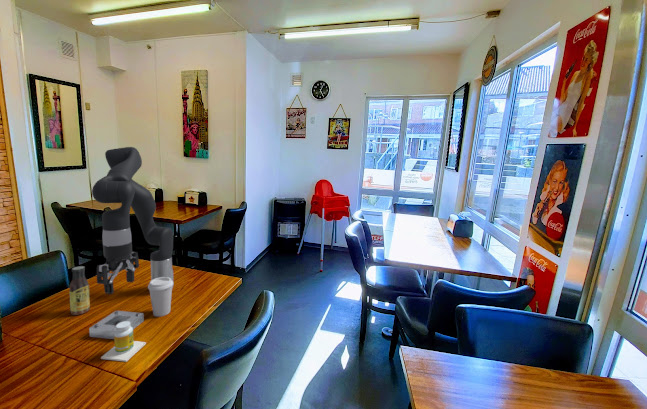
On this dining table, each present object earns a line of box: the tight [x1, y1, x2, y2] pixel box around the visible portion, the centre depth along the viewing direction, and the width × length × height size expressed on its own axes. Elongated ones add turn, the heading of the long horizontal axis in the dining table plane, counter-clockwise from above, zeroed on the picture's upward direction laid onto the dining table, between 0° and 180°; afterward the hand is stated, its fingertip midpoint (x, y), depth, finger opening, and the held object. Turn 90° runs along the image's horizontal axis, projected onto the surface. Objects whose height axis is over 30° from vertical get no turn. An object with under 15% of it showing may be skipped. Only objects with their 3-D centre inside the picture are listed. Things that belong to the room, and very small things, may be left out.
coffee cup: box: [147, 277, 174, 318], centre depth 116 cm, size 10×10×15 cm
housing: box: [88, 310, 145, 340], centre depth 104 cm, size 12×12×4 cm
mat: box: [100, 340, 147, 363], centre depth 93 cm, size 9×9×1 cm
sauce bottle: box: [68, 265, 91, 316], centre depth 112 cm, size 7×6×20 cm
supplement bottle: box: [113, 321, 135, 354], centre depth 93 cm, size 5×5×10 cm
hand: (120, 287), depth 89 cm, fingers open, 8 cm apart
